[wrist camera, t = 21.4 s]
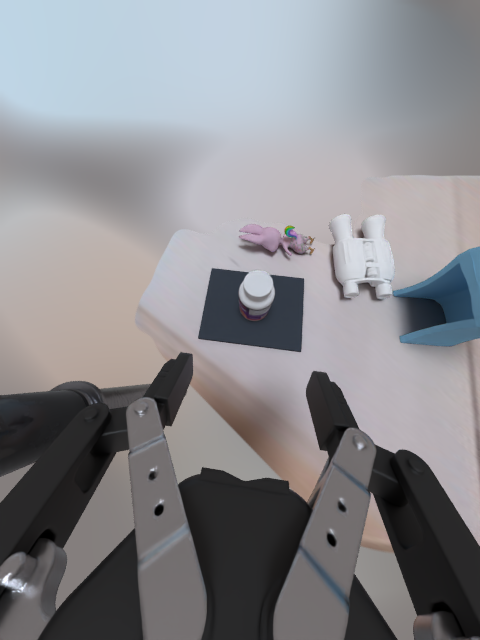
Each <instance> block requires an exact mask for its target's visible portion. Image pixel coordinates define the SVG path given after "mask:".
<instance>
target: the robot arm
mask: <svg viewBox="0 0 480 640" xmlns="http://www.w3.org/2000/svg"><path fill="white" fill-rule="evenodd" d="M192 376H193V356H192V354H189V353H182V352H181V353H180V354H179V355H178V357H177V359H176V360H175V359H171V360H169V361H168V362H167V363H165V364H164V366H163V367H162V369H161V371H160V372H159V373H158V375H157V377H156V378H155V379H154V381H153V382H152V384H151V385H150V387H149V388H148V390H147V391H146V393H145V395H144V396H143V397H142V398H140V399H137V400H135V401H134V402H133V403H131V404H130V406H127V407H122V408H115V409H109V408H108V406H107V405H106V404H103V403H96V404H93V402H92V400H91V398H90V397H89V396H88V395H87V394H86V393H85V392H84V391H82V390H79V389H64V390H59V391H47V392H36V393H35V392H34V393H23V394H11V395H0V477H1V476H4V475H6V474H8V473H11V472H13V471H15V470H18V469H20V468H23V467H25V466H27V465H30V464H32V463H34V462H35V464H34V465H33V466H32V467H31V468H30V469H29V471H28V472H27V473H26V474H25V475H24V476H23V478H22V479H21V480H20V481H19V482H18V483H17V485H16V486H15V487H14V488H13V489H12V490H11V491H10V493H9V494H8V495H7V496H6V497H5V498H4V500H3V501H2V502H1V503H0V640H397V638H396V637H395V635H394V633H393V632H392V630H391V629H390V628H389V626H388V624H387V623H386V621H385V620H384V618H383V617H382V615H381V614H380V612H379V611H378V609H377V607H376V606H375V605H374V603H373V601H372V600H371V598H370V597H369V595H368V594H367V592H366V591H365V589H364V588H363V586H362V585H361V583H360V581H359V580H358V578H357V577H356V575H355V574H354V571H355V567H356V562H357V558H358V553H359V548H360V544H361V539H362V535H363V530H364V526H365V521H366V517H367V512H368V507H369V503H370V497H371V494H370V492H371V493H373V495H374V498H375V501H376V503H377V506H378V509H379V512H380V514H381V517H382V520H383V523H384V525H385V528H386V531H387V534H388V536H389V539H390V542H391V545H392V547H393V550H394V553H395V556H396V558H397V561H398V564H399V567H400V569H401V572H402V575H403V578H404V580H405V583H406V586H407V589H408V591H409V594H410V597H411V600H412V603H413V605H414V608H415V611H416V614H417V617H416V619H415V621H414V625H413V632H414V633H413V634H414V640H480V546H479V545H478V543H477V542H476V540H475V538H474V537H473V535H472V534H471V532H470V530H469V529H468V527H467V526H466V524H465V523H464V521H463V519H462V518H461V516H460V515H459V513H458V511H457V510H456V508H455V507H454V505H453V503H452V502H451V500H450V499H449V497H448V496H447V494H446V492H445V491H444V489H443V488H442V486H441V484H440V483H439V481H438V480H437V478H436V477H435V475H434V473H433V472H432V470H431V469H430V467H429V466H428V465H427V464H426V463H425V462H424V461H423V460H422V459H421V458H420V457H419V456H417V455H416V454H414V453H412V452H410V451H407V450H399V451H397V452H396V453H395V454H394V453H392V452H390V451H388V450H385V449H383V448H381V447H379V446H377V445H375V444H374V442H373V441H372V440H371V438H370V437H369V436H368V435H367V434H366V433H364V432H363V431H361V430H360V429H359V427H358V425H357V423H356V421H355V419H354V417H353V415H352V412H351V410H350V408H349V406H348V405H347V402H346V400H345V398H344V395H343V393H342V391H341V389H340V388H339V387H338V386H337V385H336V384H335V382H330V380H329V377H328V375H327V373H324V372H317V371H313V372H312V375H311V377H310V380H309V383H308V385H307V388H306V397H307V401H308V405H309V409H310V413H311V417H312V421H313V424H314V428H315V432H316V436H317V440H318V444H319V448H320V450H324V451H328V455H329V457H328V459H327V461H326V463H325V466H324V468H323V470H322V472H321V475H320V477H319V479H318V481H317V483H316V486H315V488H314V490H313V492H312V494H311V496H310V497H309V499H308V501H307V502H306V501H305V500H304V499H303V498H302V497H300V496H299V495H298V494H297V493H295V492H294V491H292V490H290V489H289V482H288V481H284V480H278V479H271V478H263V479H257V480H251V481H243V480H240V479H239V478H236V477H234V476H233V475H231V474H229V473H226V472H225V471H221V470H215V469H210V468H203V467H202V470H201V474H198V475H194V476H191V477H189V478H187V479H185V480H184V481H182V482H181V483H179V484H178V483H177V479H176V475H175V472H174V467H173V464H172V460H171V456H170V452H169V449H168V444H167V441H166V437H165V435H164V431H163V429H164V428H165V425H166V426H172V424H173V421H174V419H175V417H176V414H177V412H178V409H179V407H180V405H181V403H182V400H183V398H184V396H185V393H186V391H187V389H188V386H189V384H190V382H191V379H192ZM129 449H130V452H129V454H128V459H129V471H130V481H131V492H132V503H133V513H134V523H135V528H134V529H133V530H132V532H131V533H130V534H129V535H128V536H127V537H126V538H125V539H124V540H123V541H122V542H121V543H120V544H119V545H118V546H117V547H116V548H115V549H114V550H113V551H112V552H111V553H110V554H109V555H108V556H107V557H106V558H105V559H104V560H103V561H102V562H101V563H100V564H99V565H98V566H97V568H95V569H94V571H93V572H92V573H91V574H90V575H89V576H88V577H87V578H86V579H85V580H84V581H83V582H82V583H81V584H80V585H79V586H78V587H77V588H76V589H75V590H74V591H73V592H72V593H71V594H70V595H69V596H68V597H67V598H66V600H65V601H64V602H63V603H62V605H61V606H60V607H59V608H58V609H57V611H56V608H55V601H56V594H57V590H58V587H59V584H60V582H61V579H62V577H63V575H64V572H65V569H66V564H67V556H66V553H65V551H64V550H63V547H64V545H65V544H66V542H67V540H68V538H69V537H70V535H71V533H72V531H73V529H74V527H75V526H76V524H77V522H78V520H79V519H80V517H81V515H82V513H83V512H84V510H85V508H86V506H87V504H88V503H89V500H90V499H91V497H92V495H93V494H94V492H95V490H96V488H97V486H98V484H99V483H100V481H101V479H102V477H103V476H104V474H105V472H106V470H107V468H108V467H109V465H110V463H111V461H112V459H113V457H114V456H115V454H116V452H119V451H124V450H129Z"/></svg>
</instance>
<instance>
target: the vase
mask: <svg viewBox="0 0 480 640" xmlns="http://www.w3.org/2000/svg"><path fill="white" fill-rule="evenodd" d="M393 294H394V296H400V297H412V298H425V299H433V300H435V301H437V302H438V303H439V304H440V305H441V306H442V308H443V311H444V315H445V319H446V324H442V325H437V326H433V327H429V328H426V329H422V330H419V331H415V332H412V333H409V334H406V335H403V336H400V342H401V343H412V344H423V345H435V346H453V345H456V344H459V343H463V342H466V341H469V340H474V339H478V338H480V247H476V248H472V249H469V250H467V251H465V252H463V253H462V254H460V255H458V256H457V257H456V258H455V259H454V260H453V261H451V262H450V263H449V264H448V265H447V266H445V267H444V268H443V269H442V270H441V271H439V272H438V273H436V274H435V275H434V276H432V277H430V278H429V279H427V280H425V281H423V282H421V283H419V284H416V285H413V286H411V287H407V288H404V289H400V290H396V291H393Z"/></svg>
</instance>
